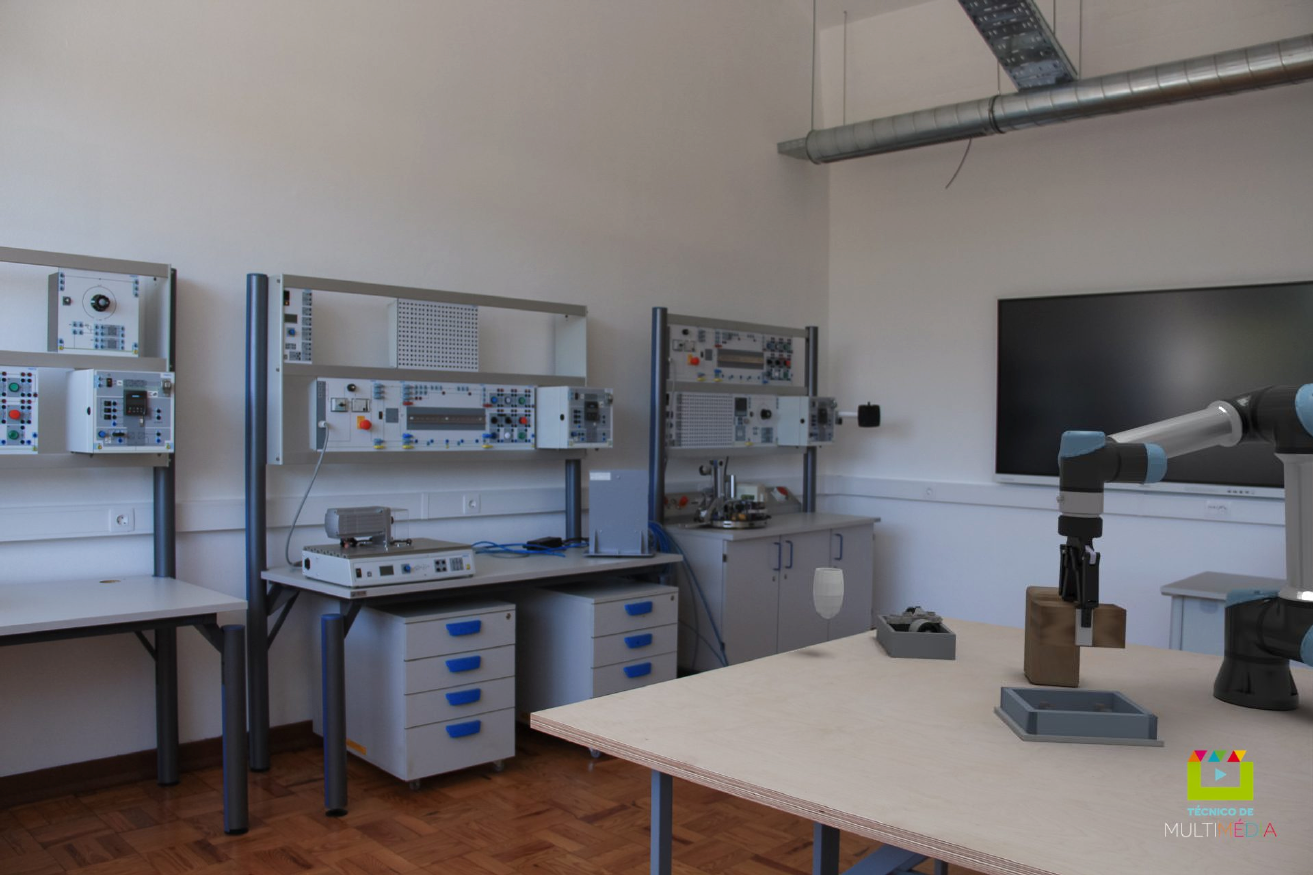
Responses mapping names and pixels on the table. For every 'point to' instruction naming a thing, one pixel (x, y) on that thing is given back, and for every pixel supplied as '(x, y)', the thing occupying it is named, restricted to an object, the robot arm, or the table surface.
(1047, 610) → the brown wooden bar
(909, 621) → the camera
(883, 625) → the camera corral
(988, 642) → the table surface
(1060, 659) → the wooden block
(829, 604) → the cup
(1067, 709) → the peg frame
